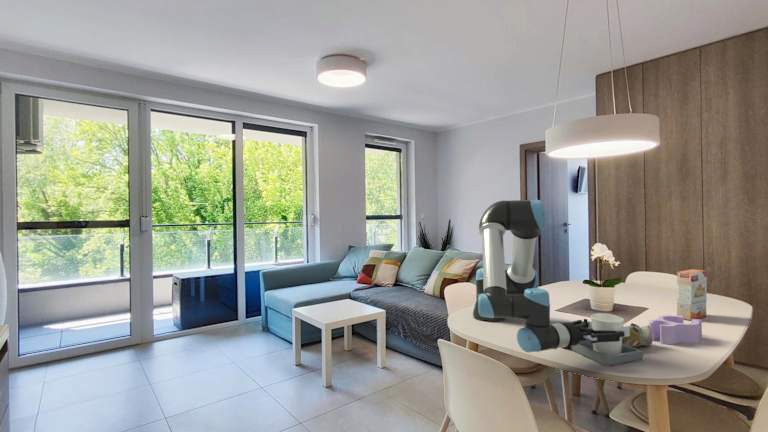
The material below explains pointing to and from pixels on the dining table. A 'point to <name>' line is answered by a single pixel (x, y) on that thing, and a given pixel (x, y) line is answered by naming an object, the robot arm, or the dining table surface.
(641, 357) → the blue gray square tray
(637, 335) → the ceramic sculpture
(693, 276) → the cracker box
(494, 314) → the robot arm
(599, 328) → the white cup
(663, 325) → the clip
